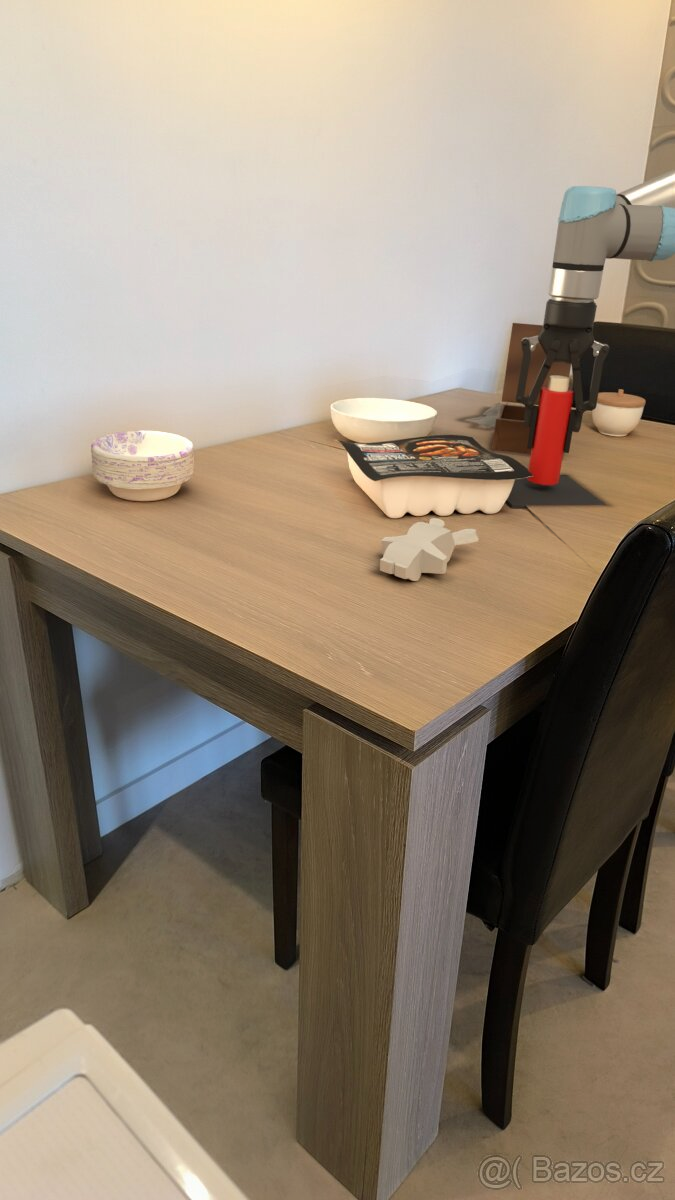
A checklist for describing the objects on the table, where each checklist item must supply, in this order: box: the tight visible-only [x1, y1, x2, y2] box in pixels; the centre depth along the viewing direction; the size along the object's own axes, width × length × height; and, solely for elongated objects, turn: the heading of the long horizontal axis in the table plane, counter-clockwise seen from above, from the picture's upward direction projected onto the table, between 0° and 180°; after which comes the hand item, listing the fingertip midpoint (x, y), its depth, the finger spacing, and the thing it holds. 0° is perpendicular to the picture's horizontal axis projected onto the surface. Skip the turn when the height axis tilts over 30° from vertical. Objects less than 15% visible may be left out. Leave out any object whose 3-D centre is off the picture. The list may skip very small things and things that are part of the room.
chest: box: [491, 403, 531, 455], centre depth 164 cm, size 15×13×7 cm
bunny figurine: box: [379, 517, 480, 582], centre depth 107 cm, size 10×5×15 cm
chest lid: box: [501, 322, 572, 406], centre depth 167 cm, size 15×13×1 cm
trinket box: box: [591, 388, 646, 437], centre depth 179 cm, size 11×11×9 cm
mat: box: [505, 474, 607, 509], centre depth 139 cm, size 16×16×1 cm
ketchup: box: [527, 375, 575, 485], centre depth 135 cm, size 5×5×17 cm
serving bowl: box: [330, 397, 438, 443], centre depth 162 cm, size 21×21×7 cm
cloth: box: [465, 402, 509, 429], centre depth 186 cm, size 26×14×2 cm, turn 148°
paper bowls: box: [90, 430, 195, 502], centre depth 127 cm, size 15×15×8 cm
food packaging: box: [334, 434, 533, 519], centre depth 131 cm, size 25×8×23 cm
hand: (547, 448), depth 136 cm, fingers closed on ketchup, 5 cm apart
